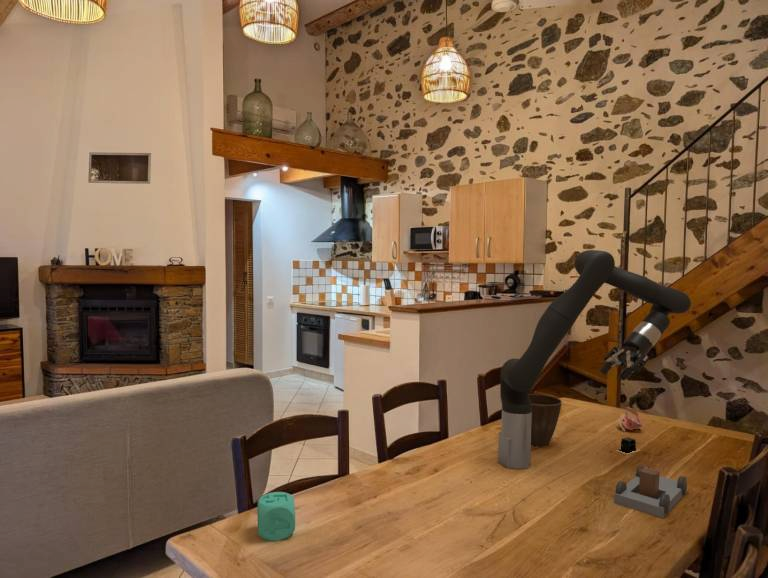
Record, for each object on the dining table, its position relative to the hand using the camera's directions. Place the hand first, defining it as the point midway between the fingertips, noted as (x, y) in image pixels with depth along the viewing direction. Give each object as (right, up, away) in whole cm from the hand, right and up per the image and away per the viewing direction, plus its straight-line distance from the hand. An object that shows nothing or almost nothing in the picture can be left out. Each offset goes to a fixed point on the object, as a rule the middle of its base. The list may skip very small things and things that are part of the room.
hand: (611, 375), depth 168 cm
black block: (+12, -29, +15) cm, 35 cm away
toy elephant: (+24, -28, +38) cm, 52 cm away
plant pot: (-17, -28, +20) cm, 38 cm away
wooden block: (0, -30, -24) cm, 38 cm away
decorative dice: (-97, -30, -44) cm, 111 cm away
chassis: (+2, -30, -22) cm, 37 cm away
